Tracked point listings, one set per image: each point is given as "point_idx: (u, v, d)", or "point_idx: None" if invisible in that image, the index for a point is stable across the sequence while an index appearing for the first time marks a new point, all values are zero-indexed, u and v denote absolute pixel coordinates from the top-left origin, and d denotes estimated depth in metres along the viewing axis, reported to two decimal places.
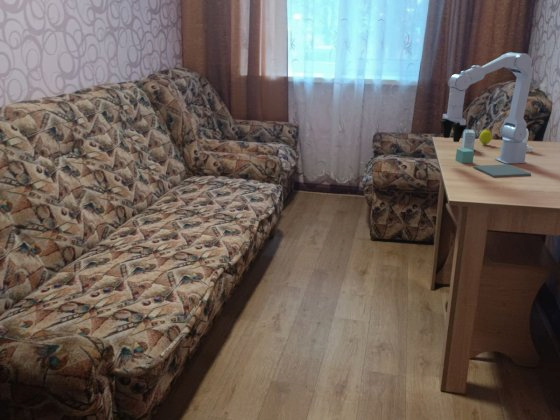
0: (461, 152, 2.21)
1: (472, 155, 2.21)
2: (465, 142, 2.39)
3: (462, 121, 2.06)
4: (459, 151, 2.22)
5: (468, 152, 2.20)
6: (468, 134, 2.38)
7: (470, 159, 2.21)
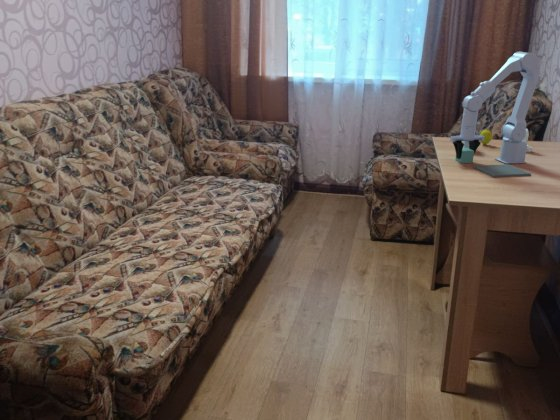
0: None
1: (472, 155, 2.21)
2: (465, 142, 2.39)
3: (450, 137, 2.19)
4: None
5: (468, 152, 2.20)
6: None
7: (470, 159, 2.21)
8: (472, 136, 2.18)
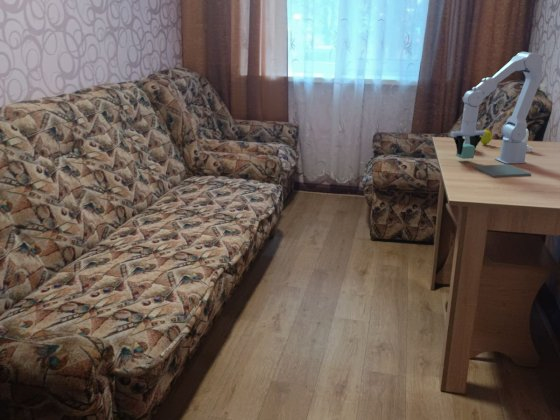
0: (462, 147, 2.20)
1: (473, 150, 2.20)
2: (465, 142, 2.39)
3: (451, 133, 2.19)
4: None
5: (469, 147, 2.19)
6: None
7: (471, 154, 2.21)
8: (473, 131, 2.17)
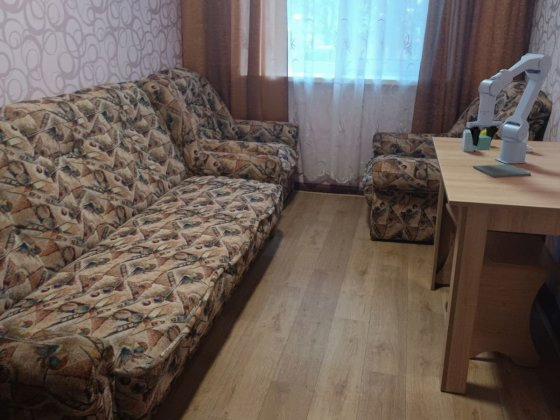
0: (478, 139, 2.13)
1: (489, 142, 2.13)
2: (465, 142, 2.39)
3: (467, 123, 2.11)
4: None
5: (485, 138, 2.12)
6: (468, 134, 2.38)
7: (487, 146, 2.13)
8: (490, 122, 2.09)
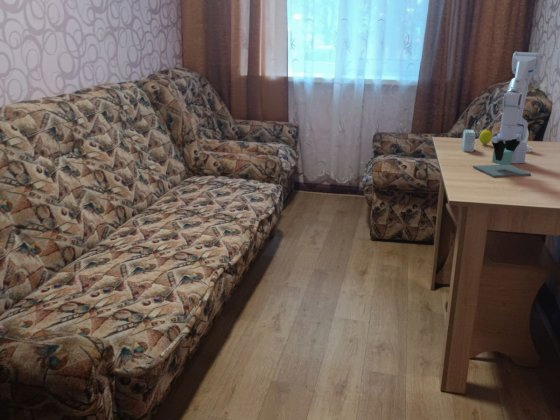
0: None
1: (511, 155, 2.06)
2: (465, 142, 2.39)
3: (492, 138, 2.02)
4: None
5: (508, 152, 2.05)
6: (468, 134, 2.38)
7: (509, 160, 2.07)
8: (514, 135, 2.02)
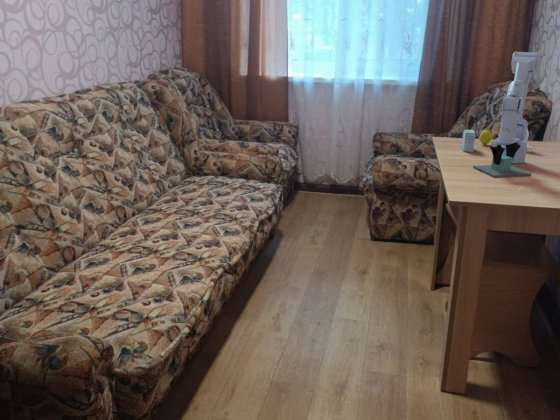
0: None
1: (510, 162, 2.07)
2: (465, 142, 2.39)
3: (492, 142, 2.02)
4: None
5: (507, 159, 2.06)
6: (468, 134, 2.38)
7: (508, 166, 2.08)
8: (513, 139, 2.03)
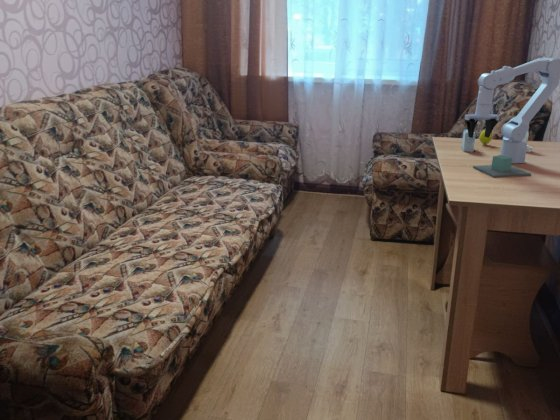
0: (500, 160, 2.06)
1: (510, 162, 2.07)
2: (465, 142, 2.39)
3: (465, 116, 2.16)
4: (497, 159, 2.07)
5: (507, 159, 2.06)
6: None
7: (508, 166, 2.08)
8: (487, 114, 2.15)
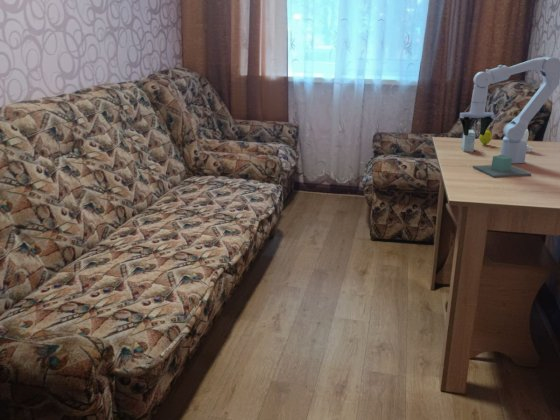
0: (500, 160, 2.06)
1: (510, 162, 2.07)
2: (465, 142, 2.39)
3: (460, 114, 2.20)
4: (497, 159, 2.07)
5: (507, 159, 2.06)
6: (468, 134, 2.38)
7: (508, 166, 2.08)
8: (482, 112, 2.18)
